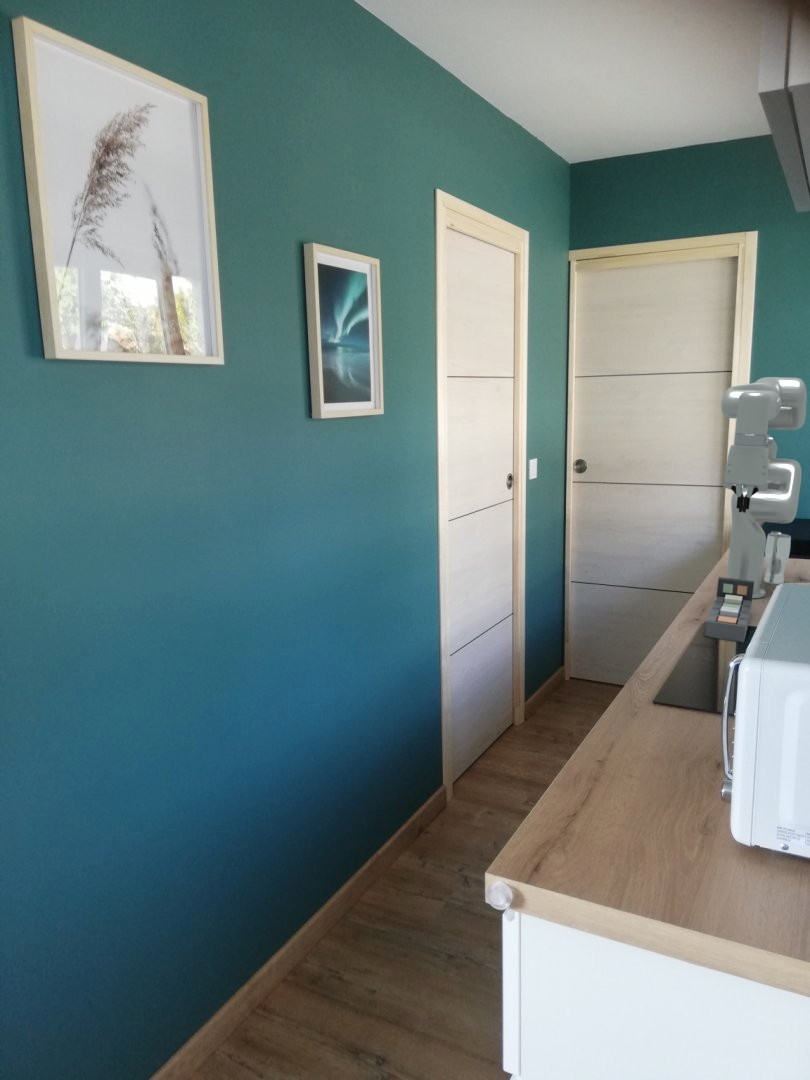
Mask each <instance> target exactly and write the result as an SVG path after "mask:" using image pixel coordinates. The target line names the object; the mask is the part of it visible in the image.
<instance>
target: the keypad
mask: <svg viewBox="0 0 810 1080" xmlns="http://www.w3.org/2000/svg"><path fill="white" fill-rule="evenodd" d="M717 580H718V581H717V589H716V597H715V600H713V604H712V607H711V609H710V612H709V614H708V617H707V620H706V626H705V635H706V636H708V637H707V638H711V639H712V638H713V639H719V640H726V641H731V640H733V642H737V643H745V639H746V635H747V631H748V626H749V623H748V621H749V622H750V618H751V614H752V604H753V598H752V597H753V589H754V581H749V580H741V579H732V578H727V577H723V576H719V577H718V579H717ZM726 594H727V595H735V596H743V597H742V604H741V606H740V611H739V614H738V618H737V617H732V618H737V623H736V624H729V623H722V622H717V621H718V618H719V616H723V615H720V610H721V607H722V606H723V603H724V599H725V596H726ZM726 604H731V603H726ZM733 605H739V604H733ZM750 613H751V614H750ZM724 617H730V616H724ZM749 617H750V618H749ZM705 635H704V636H705Z"/></svg>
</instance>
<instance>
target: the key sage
mask: <svg viewBox="0 0 810 1080" xmlns="http://www.w3.org/2000/svg"><path fill="white" fill-rule="evenodd" d="M723 606H724V607H731V608H739V611H740V606H741V605H733V604H726V603H723Z"/></svg>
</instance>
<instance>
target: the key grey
mask: <svg viewBox="0 0 810 1080" xmlns="http://www.w3.org/2000/svg"><path fill="white" fill-rule="evenodd" d="M738 614H739V608H731V607H724V606H722V607H721V610H720V615H723V616H730V617H737V618H738Z"/></svg>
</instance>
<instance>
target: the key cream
mask: <svg viewBox="0 0 810 1080" xmlns="http://www.w3.org/2000/svg"><path fill="white" fill-rule="evenodd" d="M742 597H743V596H735V595H727V594H726V596H725V599H724V603H731V604H739V605H741V604H742Z"/></svg>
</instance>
